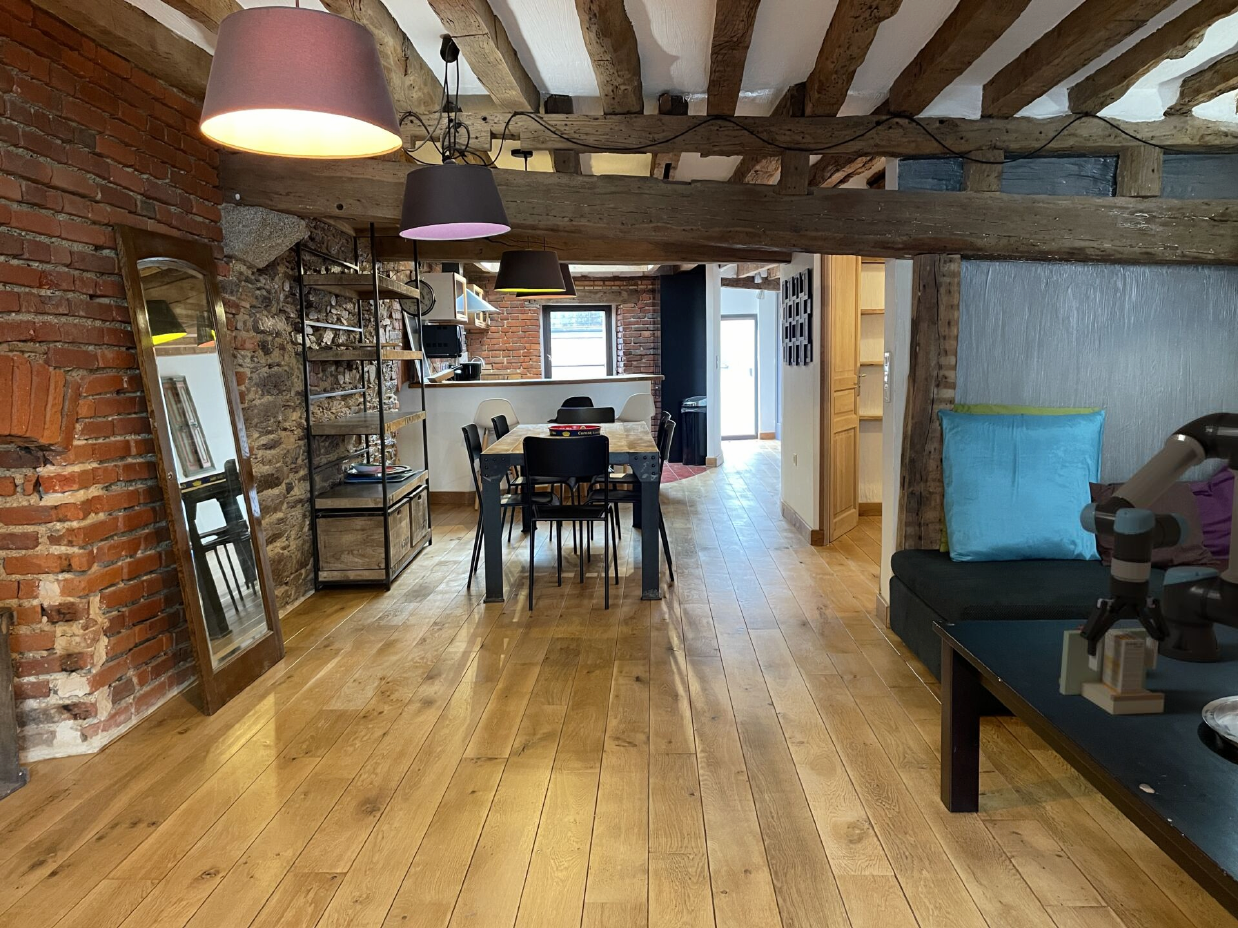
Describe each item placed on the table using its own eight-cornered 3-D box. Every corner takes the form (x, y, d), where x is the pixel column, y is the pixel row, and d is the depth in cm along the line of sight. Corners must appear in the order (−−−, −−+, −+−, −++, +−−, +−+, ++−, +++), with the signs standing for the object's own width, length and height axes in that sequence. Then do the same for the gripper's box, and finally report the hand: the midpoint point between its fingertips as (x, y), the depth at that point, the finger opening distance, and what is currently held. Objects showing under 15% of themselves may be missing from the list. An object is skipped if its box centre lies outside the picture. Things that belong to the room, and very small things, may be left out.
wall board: (1124, 680, 202) (1129, 621, 200) (1179, 711, 185) (1185, 647, 183) (1046, 683, 201) (1051, 623, 199) (1095, 715, 183) (1100, 650, 181)
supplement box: (1141, 697, 185) (1146, 641, 184) (1119, 696, 186) (1124, 640, 184) (1121, 682, 194) (1126, 628, 192) (1100, 682, 194) (1104, 628, 192)
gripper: (1168, 571, 191) (1160, 659, 194) (1066, 574, 188) (1060, 663, 191) (1194, 580, 183) (1185, 671, 186) (1088, 583, 181) (1081, 676, 184)
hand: (1122, 667), depth 189 cm, fingers open, 13 cm apart
